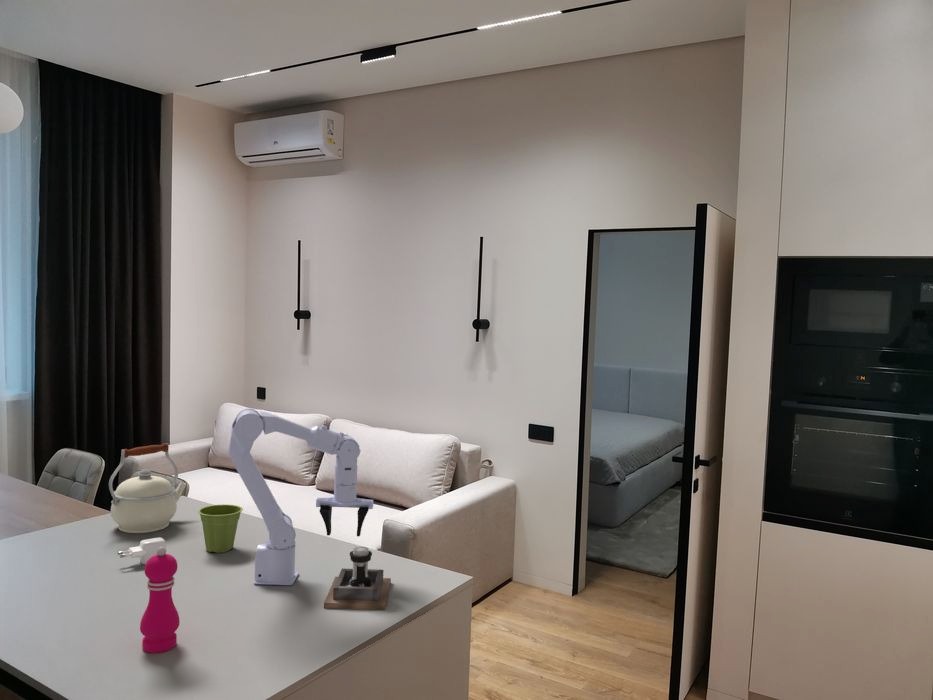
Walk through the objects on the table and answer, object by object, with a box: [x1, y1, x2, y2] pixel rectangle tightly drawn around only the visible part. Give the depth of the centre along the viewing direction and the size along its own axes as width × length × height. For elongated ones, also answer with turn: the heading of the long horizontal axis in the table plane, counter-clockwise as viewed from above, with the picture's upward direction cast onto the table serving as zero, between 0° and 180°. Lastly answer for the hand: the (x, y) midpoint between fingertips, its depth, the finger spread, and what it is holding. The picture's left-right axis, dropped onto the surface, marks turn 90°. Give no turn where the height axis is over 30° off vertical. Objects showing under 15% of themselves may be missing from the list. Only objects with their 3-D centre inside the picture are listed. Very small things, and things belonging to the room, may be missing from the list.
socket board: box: [323, 568, 392, 610], centre depth 166 cm, size 14×16×4 cm
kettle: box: [108, 442, 187, 534], centre depth 212 cm, size 25×18×25 cm
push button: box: [348, 546, 373, 587], centre depth 165 cm, size 7×5×10 cm
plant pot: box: [197, 504, 243, 554], centre depth 194 cm, size 12×12×11 cm
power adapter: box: [117, 537, 167, 566], centre depth 181 cm, size 11×5×6 cm, turn 129°
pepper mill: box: [139, 547, 180, 654], centre depth 137 cm, size 7×7×20 cm
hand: (343, 534), depth 178 cm, fingers open, 7 cm apart
